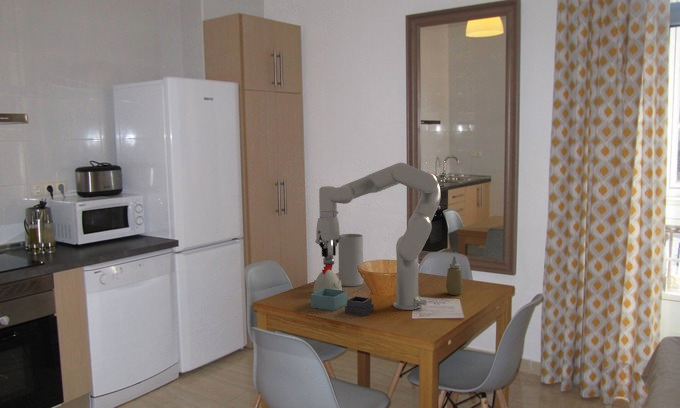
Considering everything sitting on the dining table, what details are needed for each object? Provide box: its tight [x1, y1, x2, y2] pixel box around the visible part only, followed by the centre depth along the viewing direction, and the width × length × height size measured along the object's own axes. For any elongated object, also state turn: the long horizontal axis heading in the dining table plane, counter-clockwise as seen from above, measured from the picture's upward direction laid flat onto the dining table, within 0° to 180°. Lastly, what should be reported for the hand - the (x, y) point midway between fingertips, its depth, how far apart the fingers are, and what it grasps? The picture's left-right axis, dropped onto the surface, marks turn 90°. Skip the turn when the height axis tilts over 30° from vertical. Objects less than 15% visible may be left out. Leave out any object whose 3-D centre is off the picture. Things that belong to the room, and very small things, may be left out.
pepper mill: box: [322, 237, 335, 266], centre depth 246 cm, size 5×5×13 cm
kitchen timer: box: [312, 264, 343, 294], centre depth 268 cm, size 14×14×15 cm
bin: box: [310, 288, 349, 312], centre depth 249 cm, size 12×12×6 cm
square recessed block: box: [344, 295, 375, 317], centre depth 239 cm, size 9×9×6 cm
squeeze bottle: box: [445, 255, 464, 296], centre depth 265 cm, size 8×8×18 cm
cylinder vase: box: [337, 233, 364, 287], centre depth 286 cm, size 12×12×25 cm
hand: (328, 255), depth 246 cm, fingers closed on pepper mill, 4 cm apart
